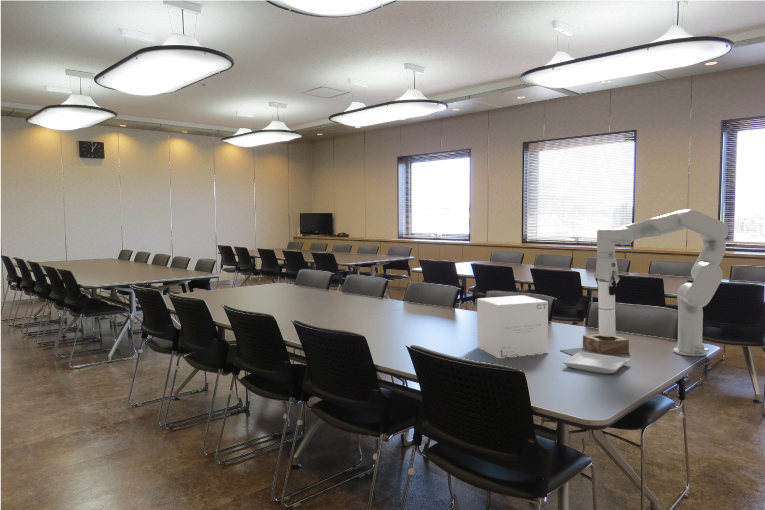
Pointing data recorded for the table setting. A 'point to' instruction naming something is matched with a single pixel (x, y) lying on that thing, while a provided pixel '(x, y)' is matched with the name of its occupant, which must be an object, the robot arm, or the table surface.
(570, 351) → the mat
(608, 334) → the cylindrical container
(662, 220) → the robot arm
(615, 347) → the collar
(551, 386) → the table surface
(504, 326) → the cube
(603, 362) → the salad plate
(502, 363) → the table surface
